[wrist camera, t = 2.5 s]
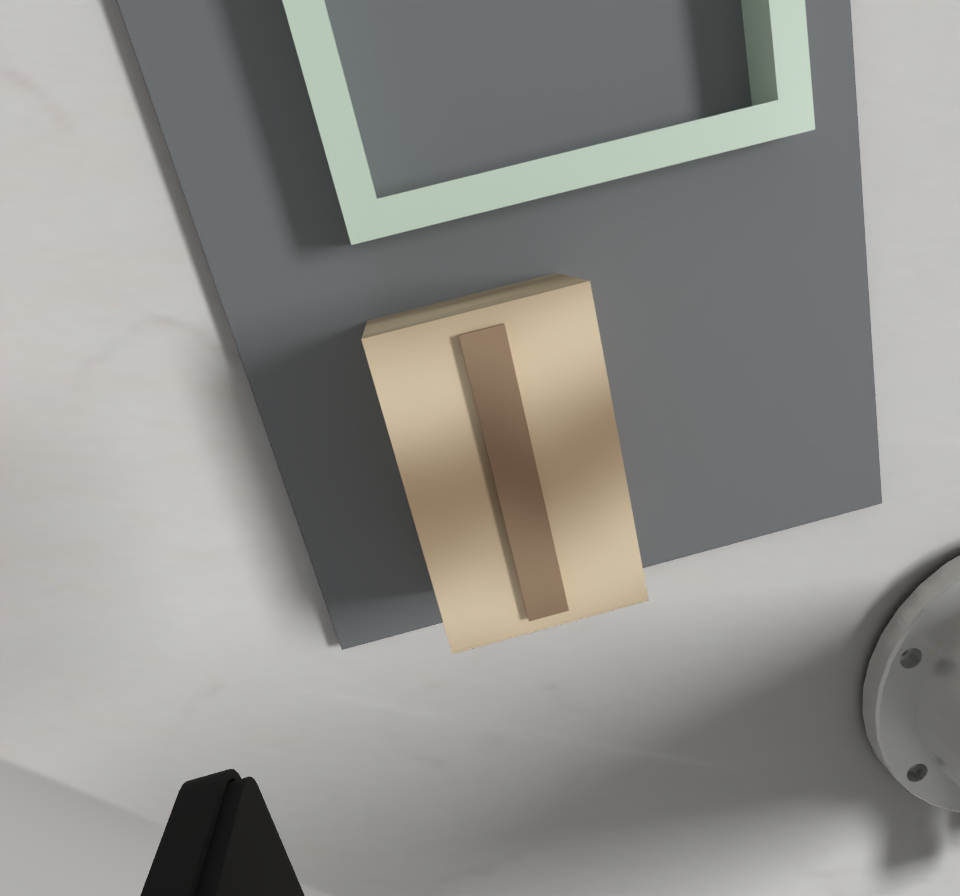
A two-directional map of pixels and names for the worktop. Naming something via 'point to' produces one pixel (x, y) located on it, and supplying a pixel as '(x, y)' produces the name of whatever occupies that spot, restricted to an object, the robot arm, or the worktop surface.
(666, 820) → the worktop surface
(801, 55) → the tray frame
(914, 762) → the robot arm
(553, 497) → the wooden block
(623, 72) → the rubber mat
